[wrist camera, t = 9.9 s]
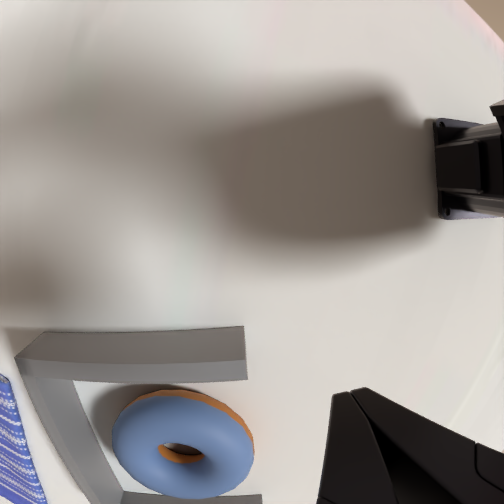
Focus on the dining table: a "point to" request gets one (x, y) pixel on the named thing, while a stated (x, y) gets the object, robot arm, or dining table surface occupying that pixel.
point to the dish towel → (16, 454)
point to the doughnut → (187, 433)
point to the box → (121, 371)
